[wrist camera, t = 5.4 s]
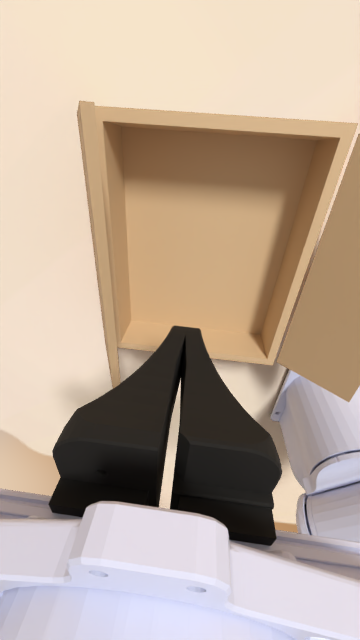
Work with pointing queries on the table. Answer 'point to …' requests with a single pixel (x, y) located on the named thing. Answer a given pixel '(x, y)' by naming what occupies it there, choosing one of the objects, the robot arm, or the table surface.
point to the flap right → (331, 299)
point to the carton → (213, 222)
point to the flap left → (98, 228)
